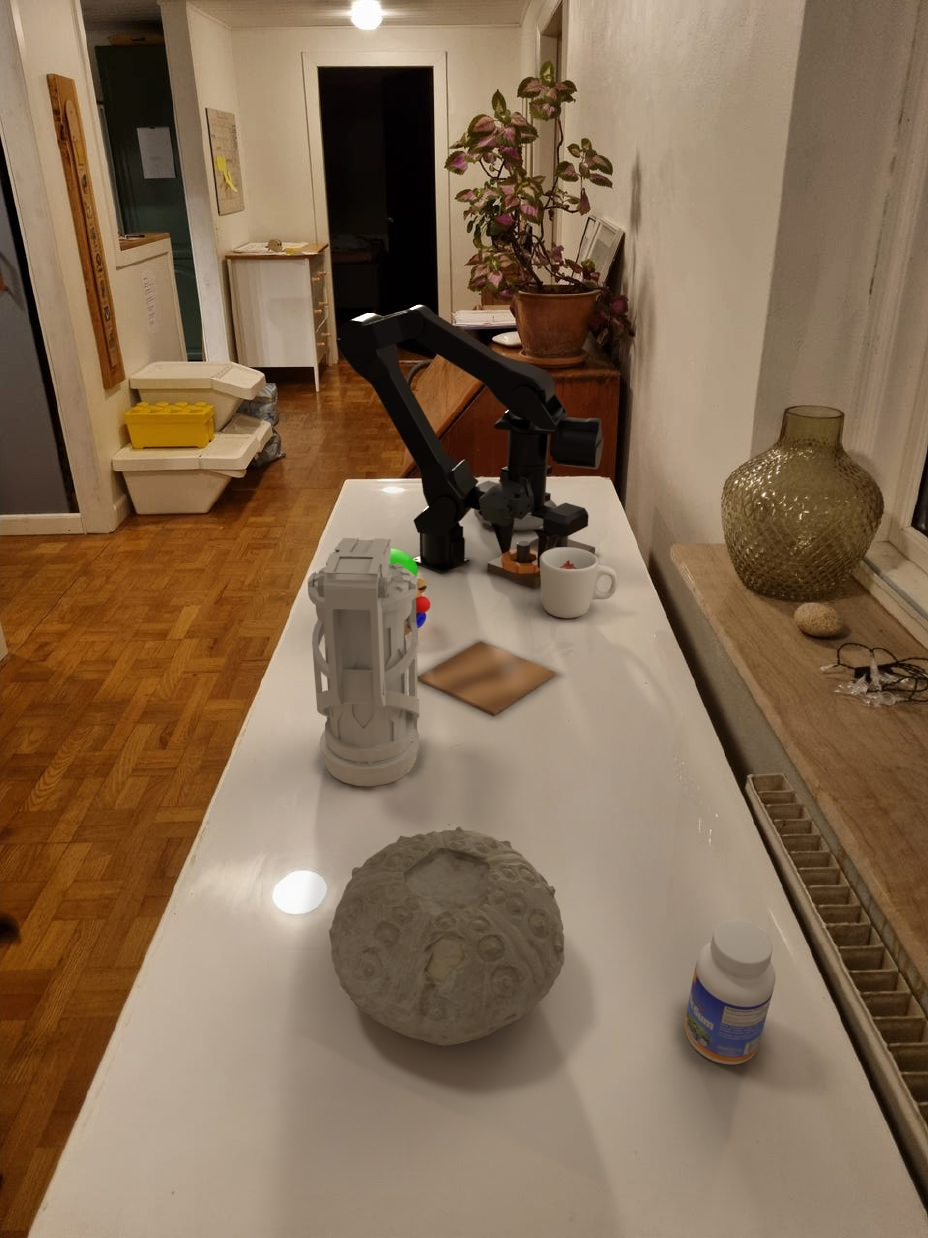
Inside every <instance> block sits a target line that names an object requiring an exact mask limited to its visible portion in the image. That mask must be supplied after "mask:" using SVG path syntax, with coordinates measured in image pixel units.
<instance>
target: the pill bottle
mask: <svg viewBox="0 0 928 1238" xmlns="http://www.w3.org/2000/svg"><path fill="white" fill-rule="evenodd" d="M772 955H773V943H772V940H771V938H770V936H769V935H768V933H767V932H766V931H765V930H764V929H763V928H761V927H759V926H758V925H757V924H755V923H753V922H750V921H748V920H744V919H739V918H736V919H735V918H734V919H727V920H724V921H722V922H720V923H719V924H717V926H715V928H714V930H713V933H712V937H711V940H710V941H709V942H707V943H705V944H704V945H703V946H702V947H701V949H700V951H699V952H698V956H697V958H696V961H695V968H694V972H693V976H692V983H691V987H690V992H689V997H688V1002H687V1008H686V1014H685V1019H684V1028H685V1034H686V1037H687V1039H688V1041H689V1043H690V1044H691V1046H692V1047H693V1048H694V1049H695V1050H696V1051H697V1052H698V1053H699V1054H700V1055H702V1056H703V1057H705V1058H706V1059H708V1060H710V1061H713V1062H715V1063H719V1064H724V1065H730V1066H731V1065H740V1064H743V1063H746V1062H748V1061H749V1060H750V1059H752V1058H753V1057H754V1056H755V1055H756V1053H757V1052H758V1049H759V1046H760V1043H761V1039H762V1035H763V1031H764V1027H765V1023H766V1021H767V1020H766V1019H767V1015H768V1013H769V1008H770V1004H771V1001H772V997H773V994H774V989H775V985H776V971H775V967H774V965H773V963H772Z"/></svg>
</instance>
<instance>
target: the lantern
mask: <svg viewBox="0 0 928 1238" xmlns="http://www.w3.org/2000/svg"><path fill="white" fill-rule="evenodd" d="M391 540H392V539H391V538H374V539H360V538H359V537H343V538H342V539H341V540H340V541H339V543H337V545H336V546H335V548H334V550H333V552H332V553H330V554H329V555H328V557H327V560H326V562H325V566H324V567H322V568H320V569H319V570H318V572H317V571H314V572H312V573H310V575H309V577H308V579H307V594H308V599H309V600H310V601H311V602H312V604H313V605H314V606H315V613H316V617H317V621H316V623H315V625H314V628H313V631H312V635H311V636H312V637H311V639H312V640H311V645H312V646H311V648H312V659H313V661H312V662H313V672H314V686H315V696H316V697H315V700H316V711H317V713H319V714H320V715H321V716H324V717H326V721H325V723H324V731H323V732H322V734H321V735H320V738H319V748H320V752H321V756H322V760H323V763H324V765H325V767H326V769H327V771H328V773H329V774H330V775H332V777H333V778H335V779H336V780H339V782H341V783H344V784H348V785H351V786H355V787H368V788H369V787H376V786H384V785H387V784H391V783H394V782H396V781H398V780H400V779H401V778H403V777H404V776H406V775H408V774H409V773H410V771H411V770H412V768H413V767H414V766H415V763H416V760H417V757H418V753H419V751H420V742H421V739H420V738H421V737H420V733H419V730H418V719H419V718H420V699H419V698H418V646H419V628H418V627H417V623H416V594H417V578H418V575H417V576H415V575H414V574H412V573H411V572H410V571H409V570H408V569H405V568H403V566H402V565H401V564H398V563H394V565H393V564H390V558H391V549H392V545H391V544H392V543H391V542H392V541H391ZM405 620H406V622H407V623H408V625H409V627H410V630H411V632H410V634H411V640H410V644H409V647H408V648H407V639H406V635H405ZM323 637H324V654H325V655H324V656H325V658H324V657H323V654H322V652H321V649H320V644H321V642H322V639H323ZM407 671H408V672H407ZM322 675H323V676H325V677H326V682H327V690H323V681H322Z"/></svg>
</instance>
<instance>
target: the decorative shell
mask: <svg viewBox="0 0 928 1238" xmlns="http://www.w3.org/2000/svg"><path fill="white" fill-rule="evenodd" d="M556 891H557V890H556V889H555V887H554V885H550V884H549V882H548V881H547V880H546V878H545V877H544V876H543V875H542V874H541V872H539V871H537V868H536V867H534V866H533V864H532V863H531V862H530V861H529V860H527V859H526V858H525V857H524V856H523V854H522V853H520V852H519V851H517V850H516V849H514V848H513V847H512V844H511V841H509V840H507V839H506V840H498V839H496V838H495V837H493V836H491V835H488V834H484V833H481V832H478V831H474V830H465V829H463V827H462V826H456V828H454V829H443V830H441V831H438V832H437V831H434V830H433V831H430V832H427V833H425V834H423V833H417V834H415V835H413V836H406V835H405V836H404V835H400V836H399V837H398V839H397V840H396V841H395V842H393V843H389V844H387V845H386V846H385V847H383V848H382V849H381V850H379V851H377V852H376V853H375V854H373V855H371V856H370V857H368V858H367V859H366V860H365V862H364V863H363V864H362V866H360V867H353V869H352V871H351V879H350V880H349V881H348V882H347V883H346V885H345V888H344V890H343V893H342V896H341V898H340V900H339V902H338V904H337V906H336V908H335V911H334V917H333V920H332V923H331V927H330V928H329V929H328V934H329V940H330V944H331V953H330V954H331V962H332V963H333V967H334V971H335V973H336V975H337V977H338V979H339V986H340V987H341V988H342V990H344V991H345V993H346V994H347V996H348V997H349V998H350V1001H352V1002H353V1003H354V1004H355V1006H356V1007H357V1008H358V1010H360V1011H361V1012H362V1013H364V1014H367V1015H369V1016H370V1017H371V1018H372V1019H373V1020H375V1021H376V1022H378V1023H379V1024H381V1025H383V1026H385V1027H386V1028H389V1029H390V1030H392V1031H393V1032H396V1033H399V1034H400V1035H403V1036H406V1037H408V1038H410V1039H412V1040H422V1041H424V1042H427V1043H429V1044H432V1045H433V1044H434V1045H439V1046H452V1045H459V1044H465V1043H467V1042H470V1041H472V1040H480V1039H482V1038H484V1037H487V1036H489V1035H491V1034H493V1033H494V1032H497V1031H498V1030H500V1029H502V1028H503V1027H505V1026H508V1025H510V1024H512V1023H515V1022H517V1021H519V1020H520V1019H521V1018H522V1017H523V1016H524V1015H526V1014H527V1013H529V1012H530V1011H531V1010H532V1009H534V1008H535V1007H536V1006H537V1005H538V1004H539V1003H540V1002H541V1001H542V1000H543V999H544V998H546V996H547V995H548V994H549V992H550V991H551V989H552V987H553V986H554V984H555V982H556V980H557V978H558V977H559V975H560V974H561V970H562V968H563V965H564V964H565V963H564V962H565V935H564V924H563V920H562V915H561V909H560V907H559V904H558V901H557V900H556V897H555V894H556Z"/></svg>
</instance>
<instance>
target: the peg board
mask: <svg viewBox="0 0 928 1238" xmlns="http://www.w3.org/2000/svg"><path fill="white" fill-rule="evenodd" d="M538 540H539V538H538V537H537V538H536V539H534V540H531V541H527V540H519V541H517V543H516V549H517V557H516V559H515V560H513V561H514V562H517V563H532V562H534V561H531V560H530V550H533V551H536V552H538ZM560 547H571V548H579V549H583V550H586V551H589V552H591V553H593V554H594V555H595V556H596V547H595V546H592V545H590V544H587V543H582V542H580V541H577V540H574V539H571V538H570V539H569V536H561V537H560V538H559V540H558V541H557V543H556V545H555V547H554V548H560ZM486 572H487V573H489V574H491V575H495V576H497V577H500V578H504V579H507V580H509V581H512V582H515V583H517V584H520V585H523V586H526V587H530V588H532V589H537V588H539V587H541V576H540V571H538V572H536V573H526V574H518V573H514V572H511V571H508V570H505V569H504V568H503V567H502V564H501V555H500V556H498V557H496V558H493V559H492V560H490V561H488V562H487V563H486Z"/></svg>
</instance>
